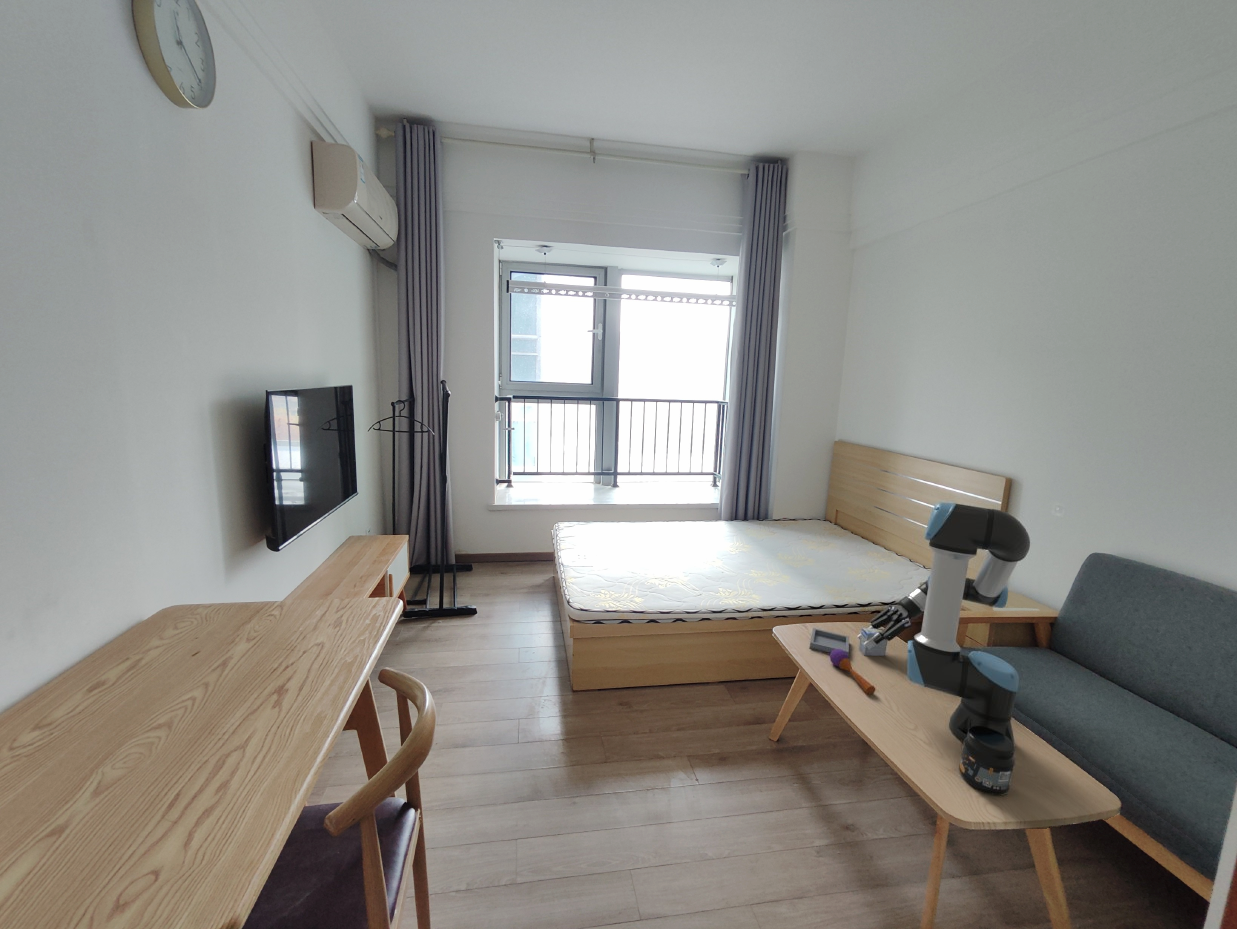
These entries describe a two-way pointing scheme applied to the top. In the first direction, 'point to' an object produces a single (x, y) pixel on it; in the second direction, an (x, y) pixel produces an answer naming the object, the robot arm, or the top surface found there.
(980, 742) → the supplement container
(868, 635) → the medicine box
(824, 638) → the tray
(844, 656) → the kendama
